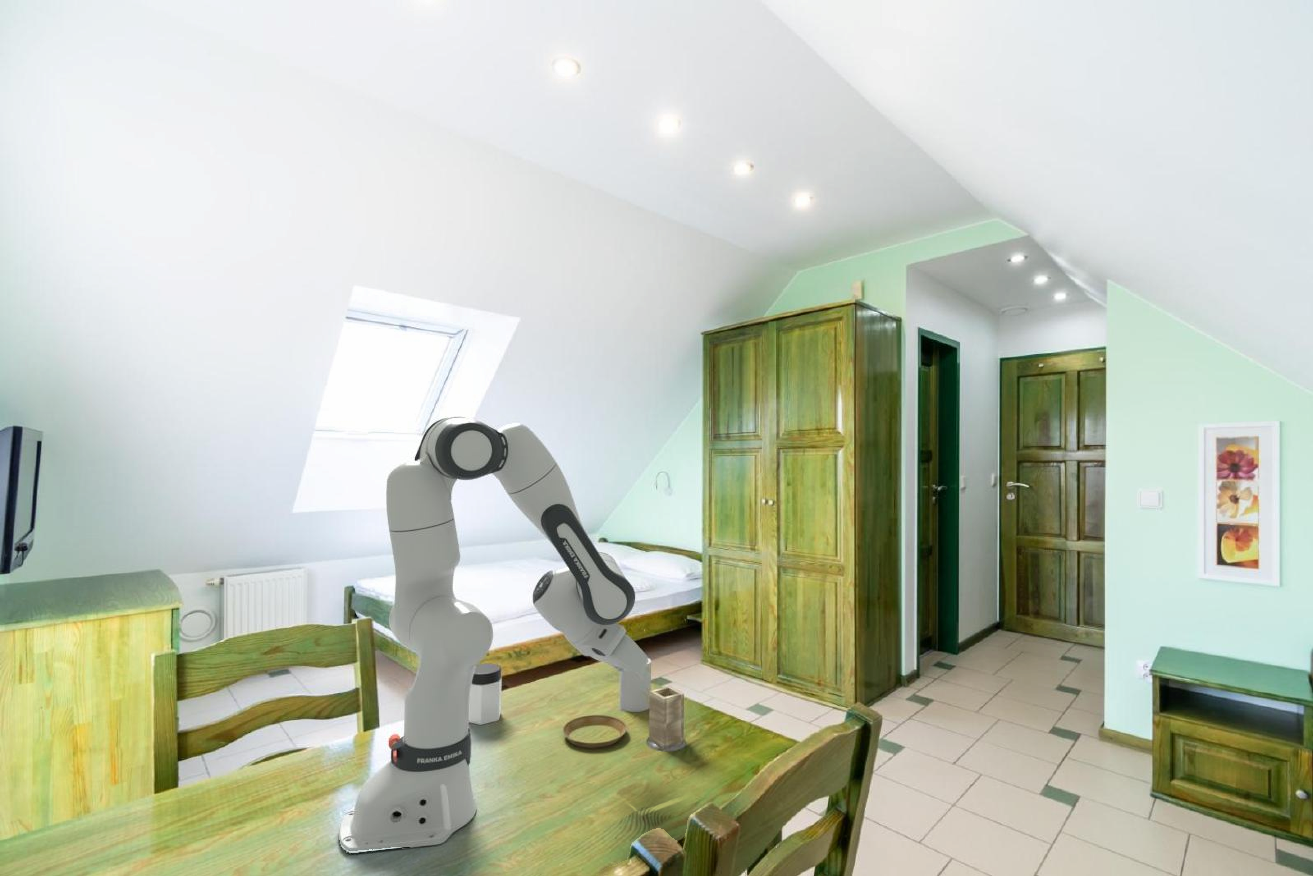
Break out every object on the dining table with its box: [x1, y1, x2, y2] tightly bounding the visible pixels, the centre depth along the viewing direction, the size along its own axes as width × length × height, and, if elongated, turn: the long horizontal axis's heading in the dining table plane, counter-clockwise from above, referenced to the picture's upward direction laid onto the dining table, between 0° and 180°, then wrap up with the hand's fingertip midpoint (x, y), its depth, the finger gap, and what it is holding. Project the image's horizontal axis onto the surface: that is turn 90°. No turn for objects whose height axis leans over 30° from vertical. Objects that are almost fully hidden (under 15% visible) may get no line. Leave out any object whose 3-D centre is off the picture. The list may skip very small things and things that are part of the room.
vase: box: [648, 686, 685, 750], centre depth 142 cm, size 7×6×11 cm
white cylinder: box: [618, 657, 652, 713], centre depth 162 cm, size 8×8×12 cm
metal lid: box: [645, 737, 687, 752], centre depth 142 cm, size 9×9×4 cm
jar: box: [469, 663, 503, 726], centre depth 155 cm, size 9×8×12 cm
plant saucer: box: [562, 714, 628, 749], centre depth 144 cm, size 15×15×3 cm
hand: (634, 672), depth 135 cm, fingers open, 8 cm apart
